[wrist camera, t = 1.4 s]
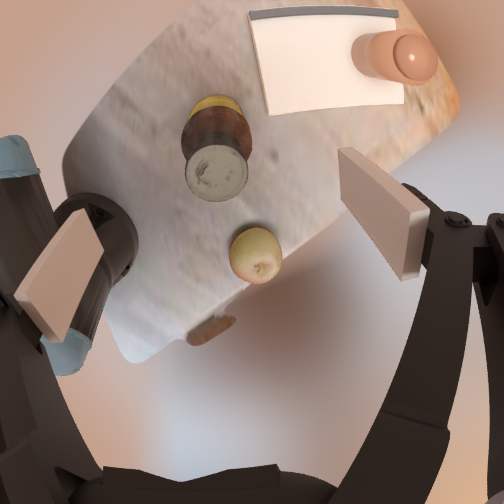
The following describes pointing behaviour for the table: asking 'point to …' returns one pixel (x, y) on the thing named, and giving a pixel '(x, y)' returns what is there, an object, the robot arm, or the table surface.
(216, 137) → the sauce bottle
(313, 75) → the white rectangular box
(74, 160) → the table surface
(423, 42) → the terracotta jar
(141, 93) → the table surface
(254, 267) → the fruit
